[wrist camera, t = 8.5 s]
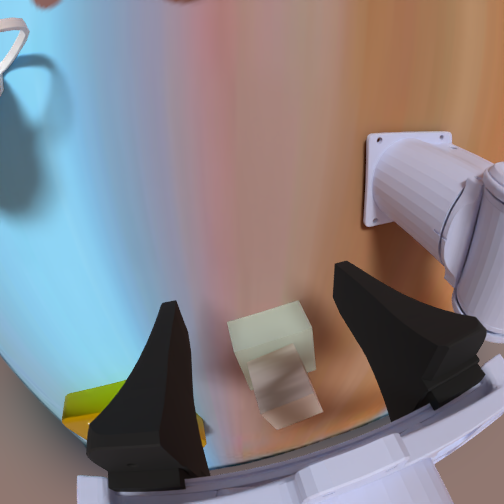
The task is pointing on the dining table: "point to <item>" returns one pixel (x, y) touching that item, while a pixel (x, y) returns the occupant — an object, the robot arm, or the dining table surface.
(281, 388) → the ash block
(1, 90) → the cup
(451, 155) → the robot arm
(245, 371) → the sage base block
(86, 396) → the element tile
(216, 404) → the dining table surface
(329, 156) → the dining table surface
